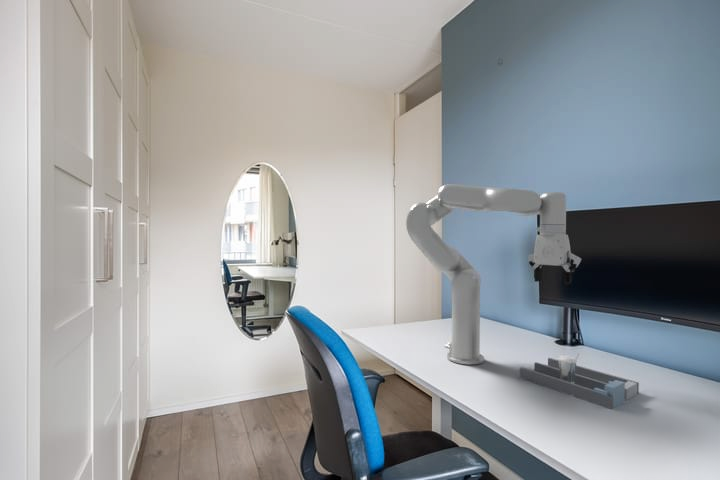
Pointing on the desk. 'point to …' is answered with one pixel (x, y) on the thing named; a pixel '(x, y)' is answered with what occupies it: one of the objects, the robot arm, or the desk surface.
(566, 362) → the milkshake
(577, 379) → the grey divided tray
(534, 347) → the desk surface
